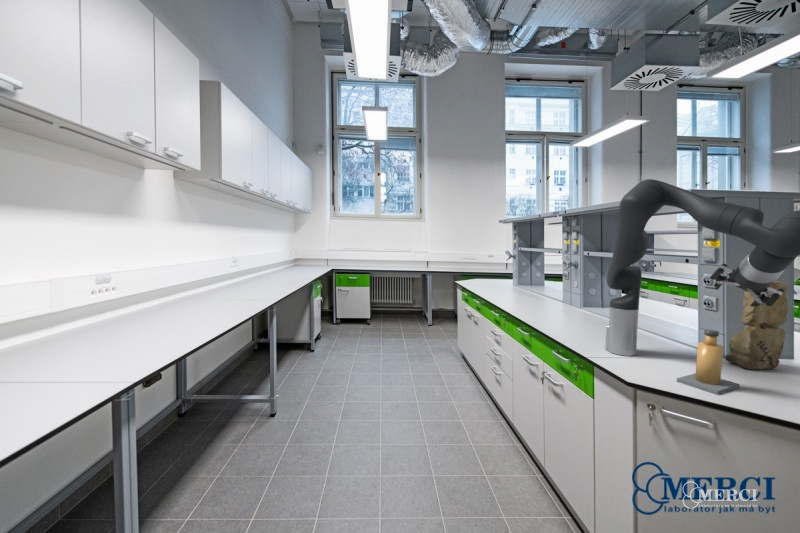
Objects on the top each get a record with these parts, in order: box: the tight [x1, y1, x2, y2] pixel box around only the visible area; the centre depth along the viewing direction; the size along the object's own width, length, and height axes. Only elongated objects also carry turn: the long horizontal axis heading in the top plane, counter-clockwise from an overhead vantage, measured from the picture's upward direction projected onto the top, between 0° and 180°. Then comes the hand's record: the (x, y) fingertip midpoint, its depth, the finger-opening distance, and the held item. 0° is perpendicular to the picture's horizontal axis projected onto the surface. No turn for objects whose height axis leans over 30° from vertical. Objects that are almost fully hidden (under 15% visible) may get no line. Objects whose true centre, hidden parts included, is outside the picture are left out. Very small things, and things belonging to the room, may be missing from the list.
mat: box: [676, 372, 741, 396], centre depth 104 cm, size 10×12×1 cm
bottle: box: [695, 329, 724, 385], centre depth 104 cm, size 6×6×15 cm
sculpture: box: [724, 280, 789, 371], centre depth 118 cm, size 12×9×30 cm
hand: (735, 295), depth 101 cm, fingers open, 8 cm apart
